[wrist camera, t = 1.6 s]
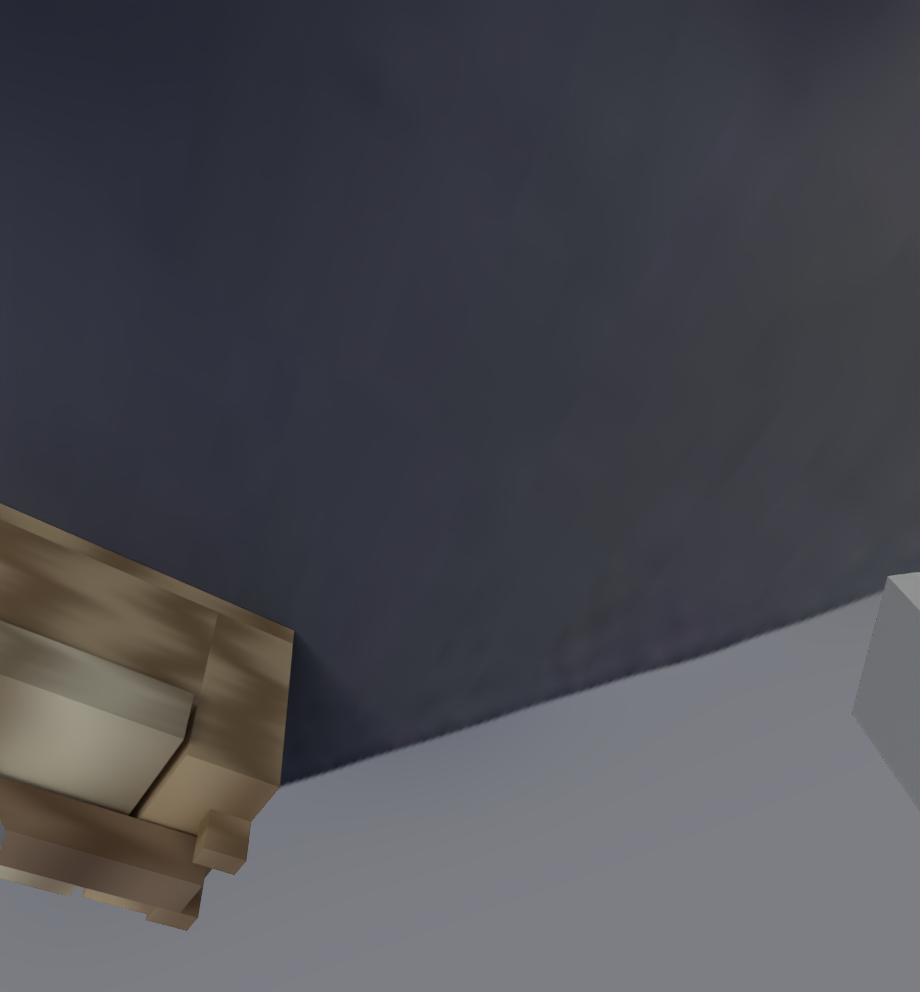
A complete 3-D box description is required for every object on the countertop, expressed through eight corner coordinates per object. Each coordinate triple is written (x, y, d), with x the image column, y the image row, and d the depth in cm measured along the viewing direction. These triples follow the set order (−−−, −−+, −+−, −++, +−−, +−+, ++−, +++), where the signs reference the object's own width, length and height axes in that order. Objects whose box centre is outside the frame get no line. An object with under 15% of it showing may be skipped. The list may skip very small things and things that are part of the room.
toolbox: (-206, 608, 37) (-403, 823, 27) (-139, 443, 33) (-340, 624, 24) (203, 752, 45) (161, 960, 35) (294, 630, 41) (276, 825, 31)
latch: (-61, 796, 31) (-85, 842, 29) (-42, 763, 30) (-65, 809, 28) (188, 868, 34) (180, 913, 33) (210, 841, 34) (202, 885, 32)
